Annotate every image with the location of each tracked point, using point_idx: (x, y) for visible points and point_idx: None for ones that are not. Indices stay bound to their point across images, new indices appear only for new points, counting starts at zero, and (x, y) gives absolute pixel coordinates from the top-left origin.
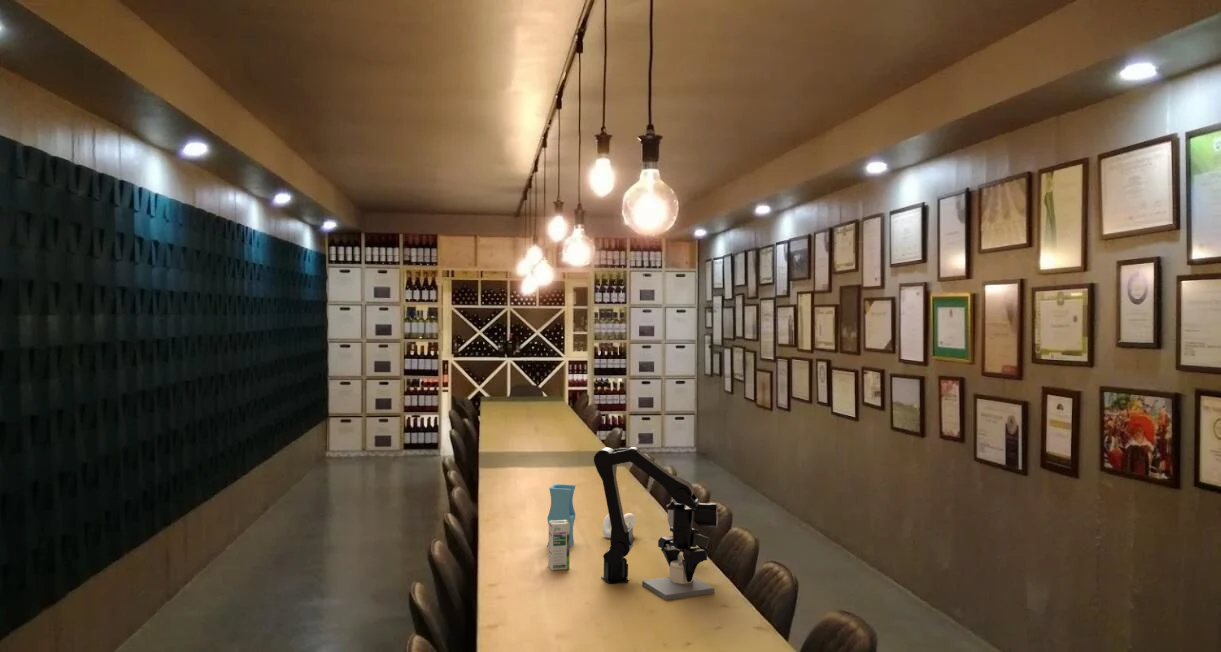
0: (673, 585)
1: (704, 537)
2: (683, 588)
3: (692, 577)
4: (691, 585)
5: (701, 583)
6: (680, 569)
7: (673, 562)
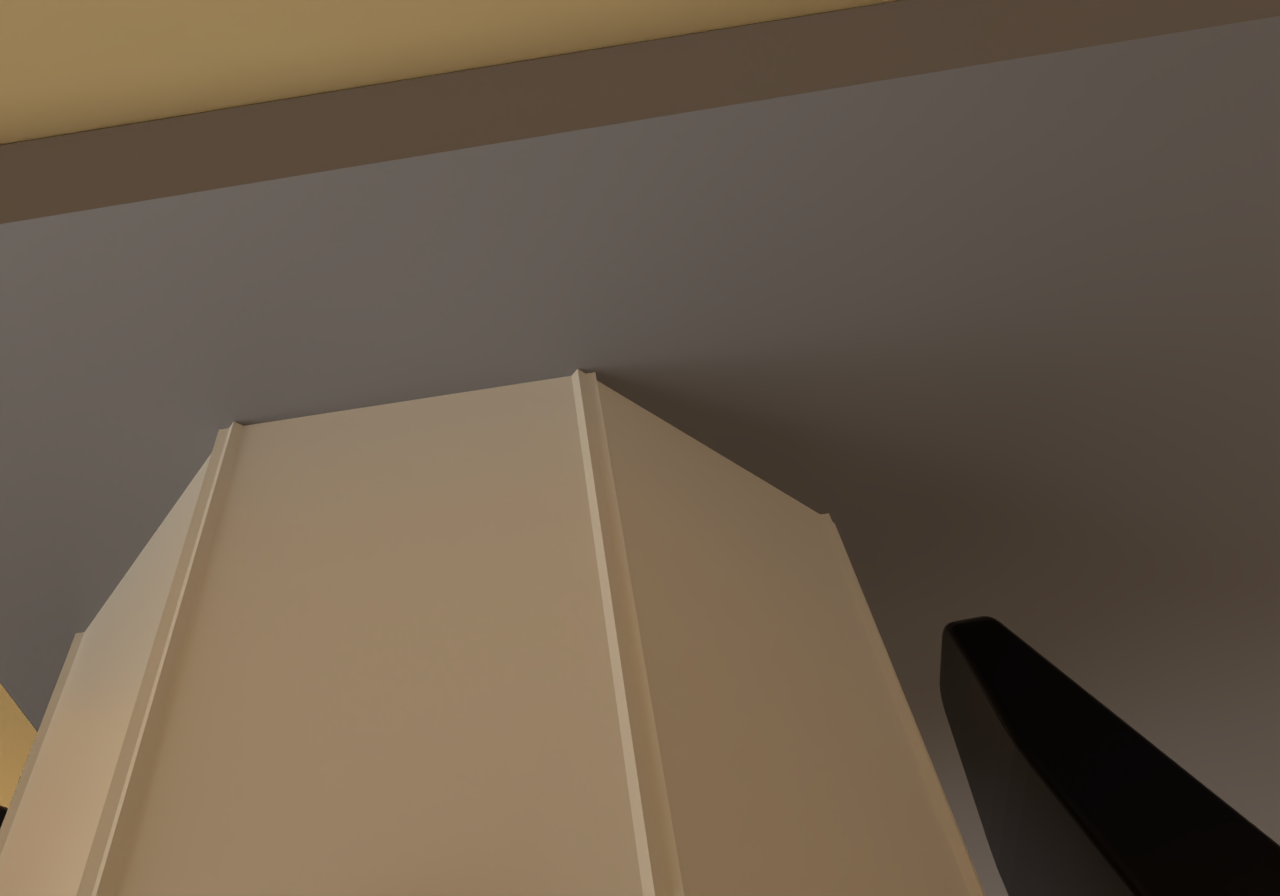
0: None
1: None
2: None
3: (686, 507)
4: (1071, 568)
5: (1076, 219)
6: None
7: None
